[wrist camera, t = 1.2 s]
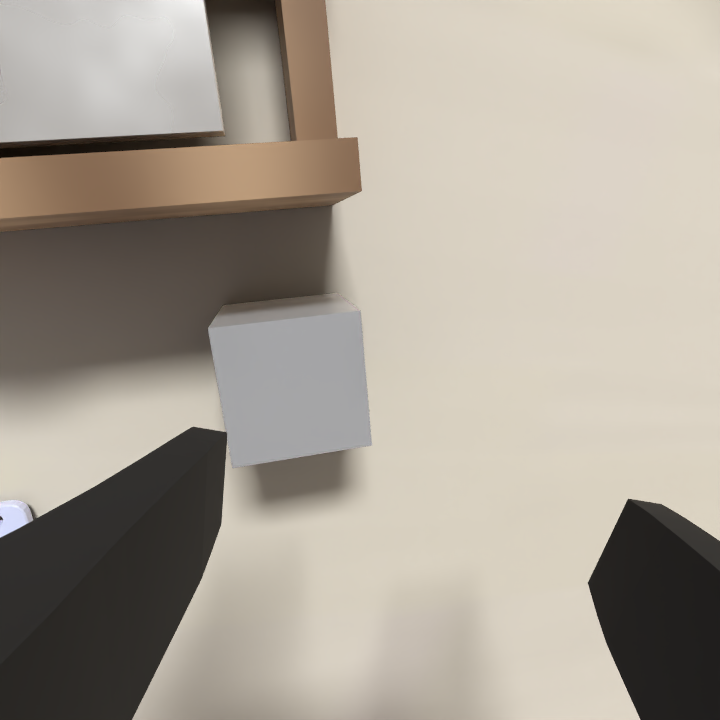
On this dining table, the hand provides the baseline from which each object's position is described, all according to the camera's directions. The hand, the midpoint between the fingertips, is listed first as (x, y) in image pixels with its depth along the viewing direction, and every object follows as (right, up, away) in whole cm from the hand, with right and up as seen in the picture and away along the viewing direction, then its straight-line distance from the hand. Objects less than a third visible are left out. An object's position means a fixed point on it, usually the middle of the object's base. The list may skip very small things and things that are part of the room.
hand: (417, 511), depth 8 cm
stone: (-4, +3, +9) cm, 11 cm away
